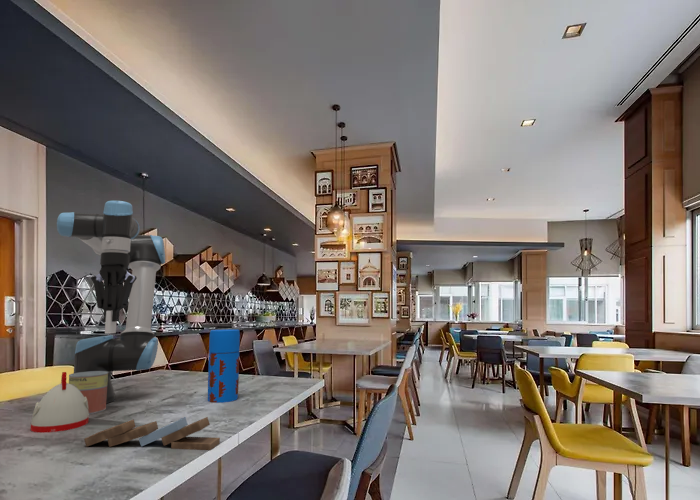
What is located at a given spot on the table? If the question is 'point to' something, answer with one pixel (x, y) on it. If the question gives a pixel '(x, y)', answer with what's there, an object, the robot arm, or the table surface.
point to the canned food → (92, 388)
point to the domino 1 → (109, 433)
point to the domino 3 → (163, 431)
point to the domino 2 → (133, 434)
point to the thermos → (223, 366)
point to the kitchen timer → (60, 409)
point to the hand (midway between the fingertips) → (110, 333)
